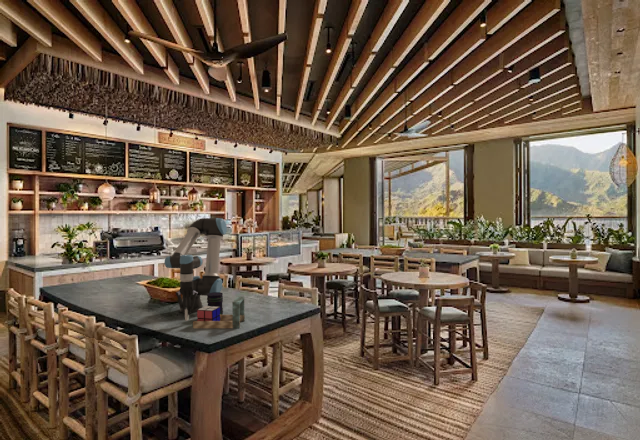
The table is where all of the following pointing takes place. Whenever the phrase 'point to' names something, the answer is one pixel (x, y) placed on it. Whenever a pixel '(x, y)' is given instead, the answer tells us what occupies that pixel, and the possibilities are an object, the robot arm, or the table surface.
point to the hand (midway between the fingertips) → (187, 319)
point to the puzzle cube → (208, 313)
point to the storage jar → (215, 300)
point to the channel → (226, 317)
